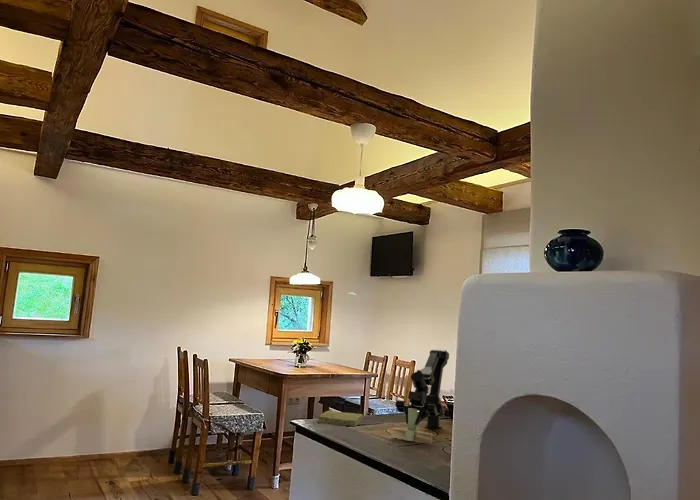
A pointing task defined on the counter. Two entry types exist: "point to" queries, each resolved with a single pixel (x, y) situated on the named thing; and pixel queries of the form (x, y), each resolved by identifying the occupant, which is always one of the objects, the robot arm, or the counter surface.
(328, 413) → the decorative tile
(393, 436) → the birch slotted plate
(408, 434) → the green joystick knob
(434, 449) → the counter surface
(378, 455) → the counter surface
